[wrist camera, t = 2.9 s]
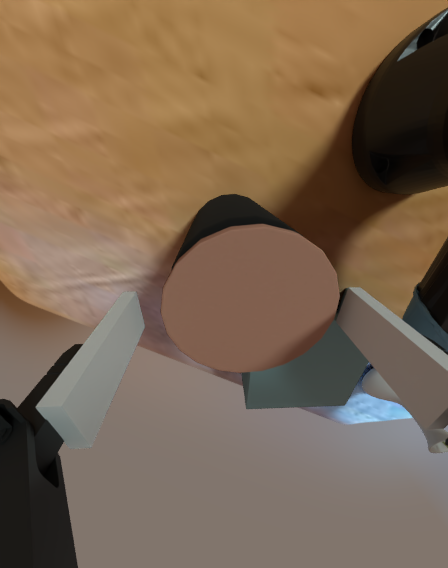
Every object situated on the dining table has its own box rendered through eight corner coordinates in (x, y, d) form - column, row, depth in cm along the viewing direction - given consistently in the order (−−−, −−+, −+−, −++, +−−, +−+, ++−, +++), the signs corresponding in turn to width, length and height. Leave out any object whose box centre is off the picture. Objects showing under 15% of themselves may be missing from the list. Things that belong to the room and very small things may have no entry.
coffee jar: (176, 222, 26) (117, 293, 11) (245, 175, 24) (304, 176, 8) (218, 281, 31) (221, 391, 15) (280, 246, 28) (359, 334, 13)
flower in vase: (348, 373, 44) (479, 570, 22) (398, 347, 40) (615, 551, 18) (372, 396, 49) (500, 575, 27) (419, 374, 45) (611, 561, 23)
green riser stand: (247, 289, 32) (256, 321, 25) (354, 288, 33) (392, 319, 26) (241, 369, 42) (246, 409, 35) (323, 367, 42) (344, 405, 35)
